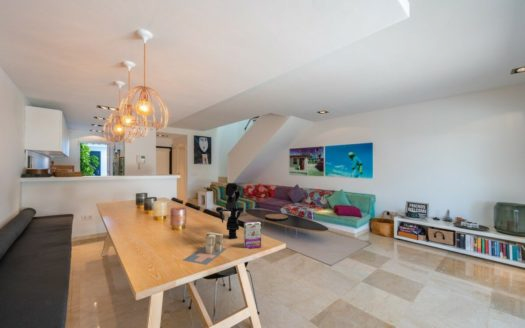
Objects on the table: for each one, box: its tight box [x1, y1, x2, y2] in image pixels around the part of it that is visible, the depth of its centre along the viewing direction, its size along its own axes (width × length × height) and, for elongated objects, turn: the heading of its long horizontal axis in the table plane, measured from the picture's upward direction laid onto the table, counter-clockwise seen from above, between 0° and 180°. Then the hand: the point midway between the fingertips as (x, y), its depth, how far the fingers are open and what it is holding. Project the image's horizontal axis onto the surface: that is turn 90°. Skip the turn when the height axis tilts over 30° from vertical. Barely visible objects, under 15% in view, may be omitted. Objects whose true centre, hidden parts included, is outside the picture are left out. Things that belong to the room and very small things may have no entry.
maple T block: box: [205, 232, 224, 254], centre depth 135 cm, size 9×10×10 cm
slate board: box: [182, 245, 227, 266], centre depth 130 cm, size 24×16×1 cm, turn 162°
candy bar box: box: [243, 221, 262, 249], centre depth 144 cm, size 11×5×16 cm, turn 105°
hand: (229, 222), depth 144 cm, fingers open, 9 cm apart
